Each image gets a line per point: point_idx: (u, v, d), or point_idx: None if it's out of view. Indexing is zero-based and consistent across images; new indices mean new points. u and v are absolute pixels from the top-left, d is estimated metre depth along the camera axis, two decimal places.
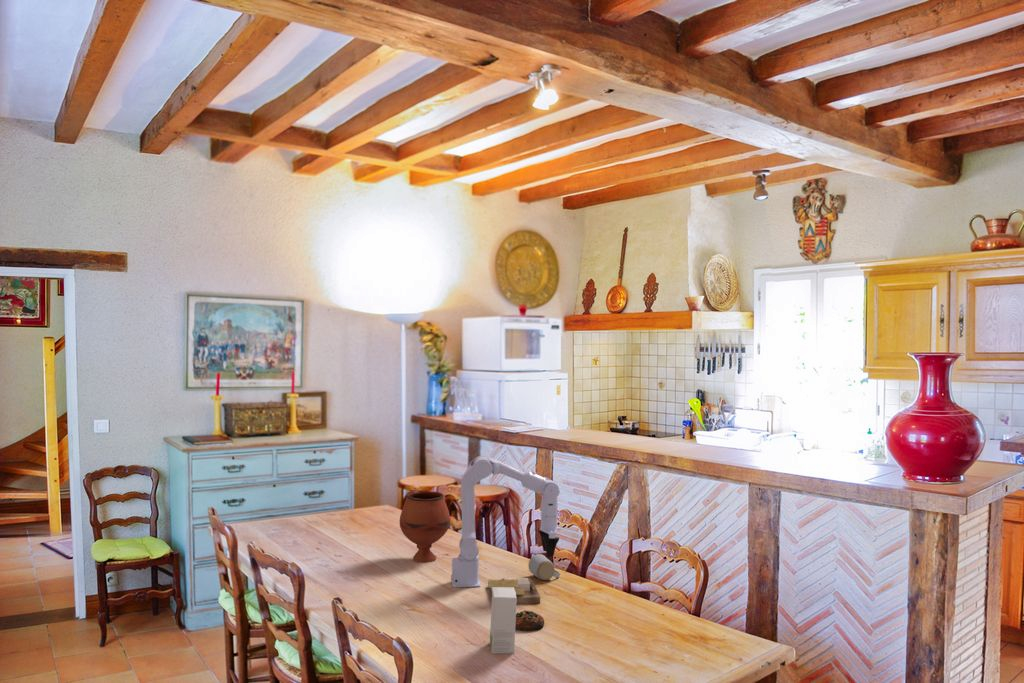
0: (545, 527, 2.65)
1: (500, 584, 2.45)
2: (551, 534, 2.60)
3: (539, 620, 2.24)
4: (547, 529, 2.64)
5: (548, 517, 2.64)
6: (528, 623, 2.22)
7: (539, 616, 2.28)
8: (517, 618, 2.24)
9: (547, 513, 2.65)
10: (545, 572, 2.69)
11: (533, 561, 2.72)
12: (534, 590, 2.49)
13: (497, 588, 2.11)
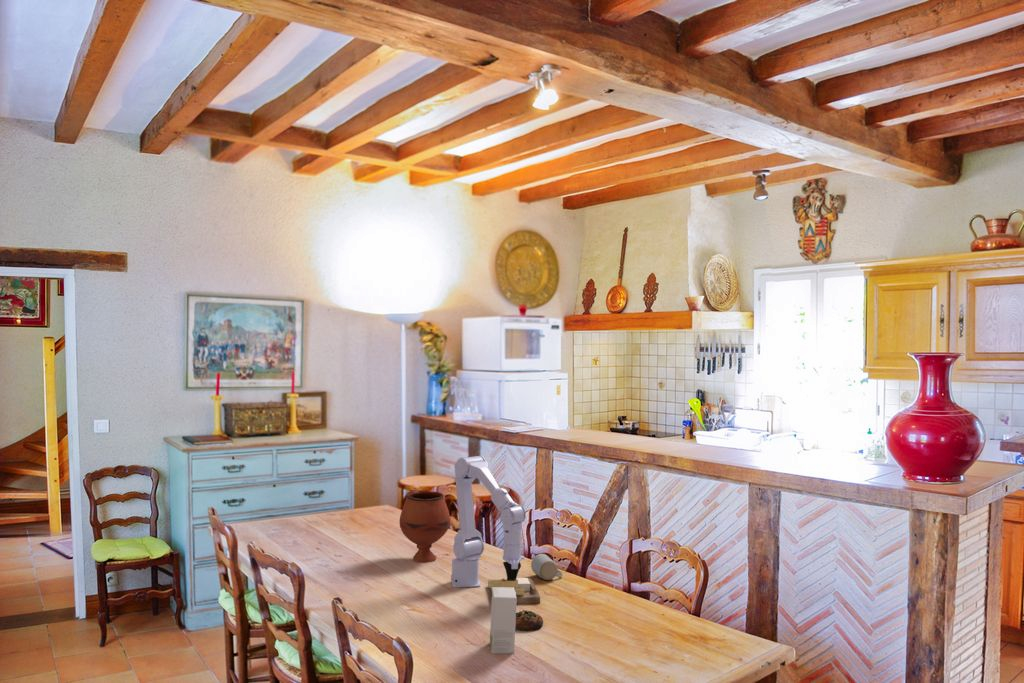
0: (508, 556, 2.46)
1: (500, 584, 2.45)
2: (514, 564, 2.41)
3: (538, 620, 2.24)
4: (510, 559, 2.46)
5: (511, 546, 2.46)
6: (527, 623, 2.22)
7: (538, 616, 2.28)
8: (516, 618, 2.25)
9: (504, 540, 2.47)
10: (548, 572, 2.69)
11: (536, 561, 2.73)
12: (534, 590, 2.49)
13: (497, 588, 2.11)
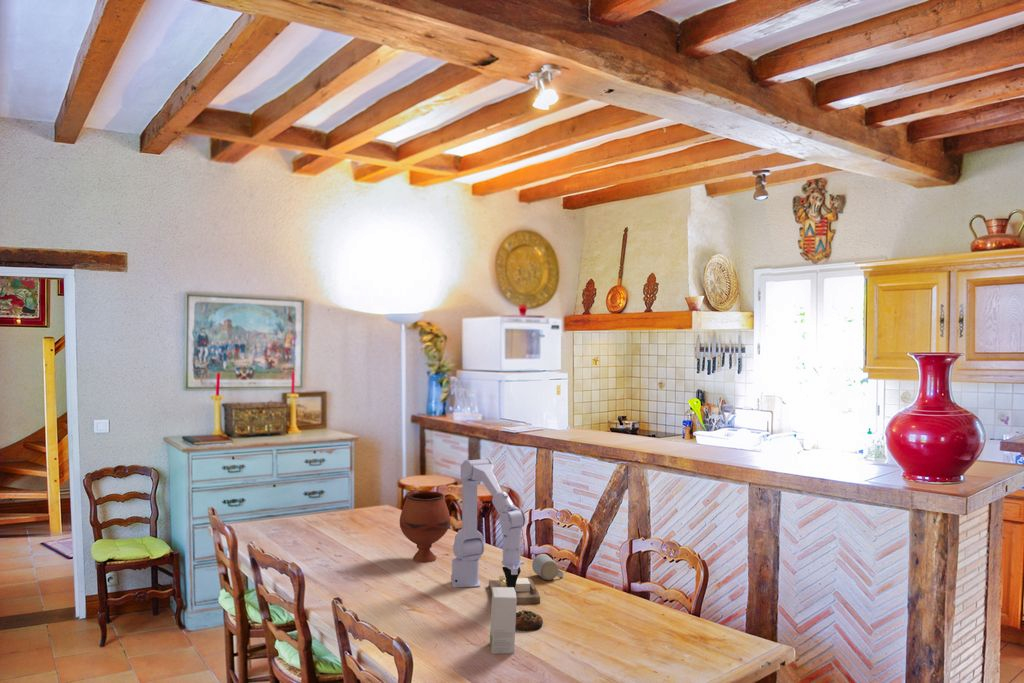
0: (507, 561, 2.40)
1: (500, 582, 2.47)
2: (513, 570, 2.36)
3: (538, 620, 2.25)
4: (509, 564, 2.40)
5: (510, 551, 2.40)
6: (527, 623, 2.22)
7: (537, 616, 2.28)
8: None
9: (503, 544, 2.42)
10: (549, 572, 2.69)
11: (537, 561, 2.73)
12: (534, 590, 2.49)
13: (497, 588, 2.11)
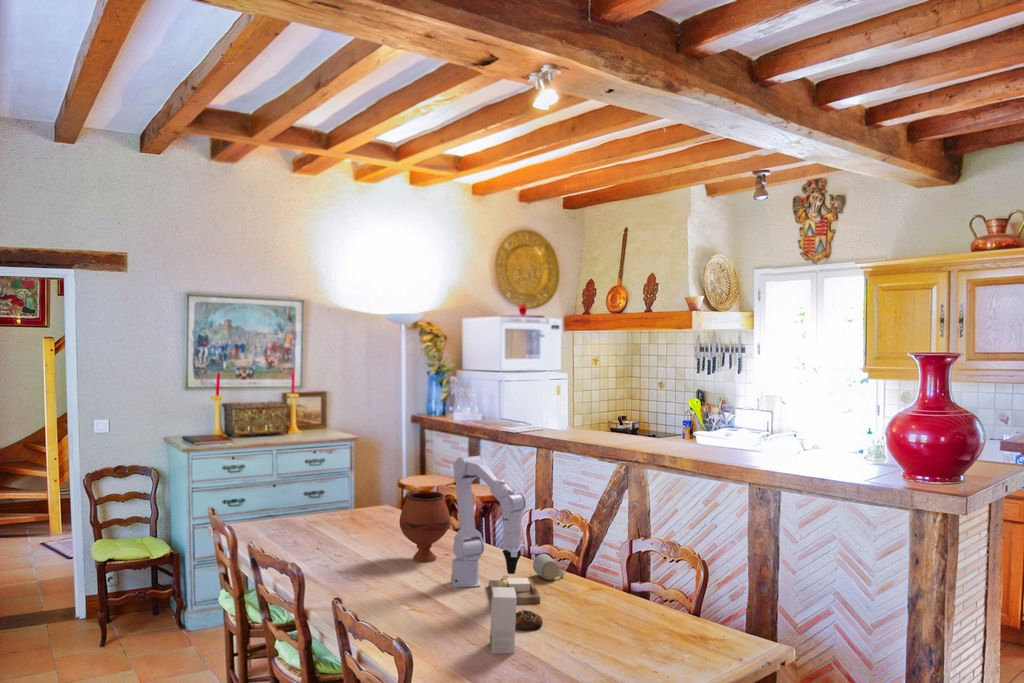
0: (507, 545, 2.44)
1: None
2: (513, 553, 2.39)
3: (537, 620, 2.25)
4: (509, 547, 2.43)
5: (511, 534, 2.43)
6: (527, 622, 2.22)
7: (537, 616, 2.28)
8: None
9: (504, 528, 2.45)
10: (550, 572, 2.69)
11: (537, 561, 2.73)
12: (534, 590, 2.49)
13: (497, 588, 2.11)
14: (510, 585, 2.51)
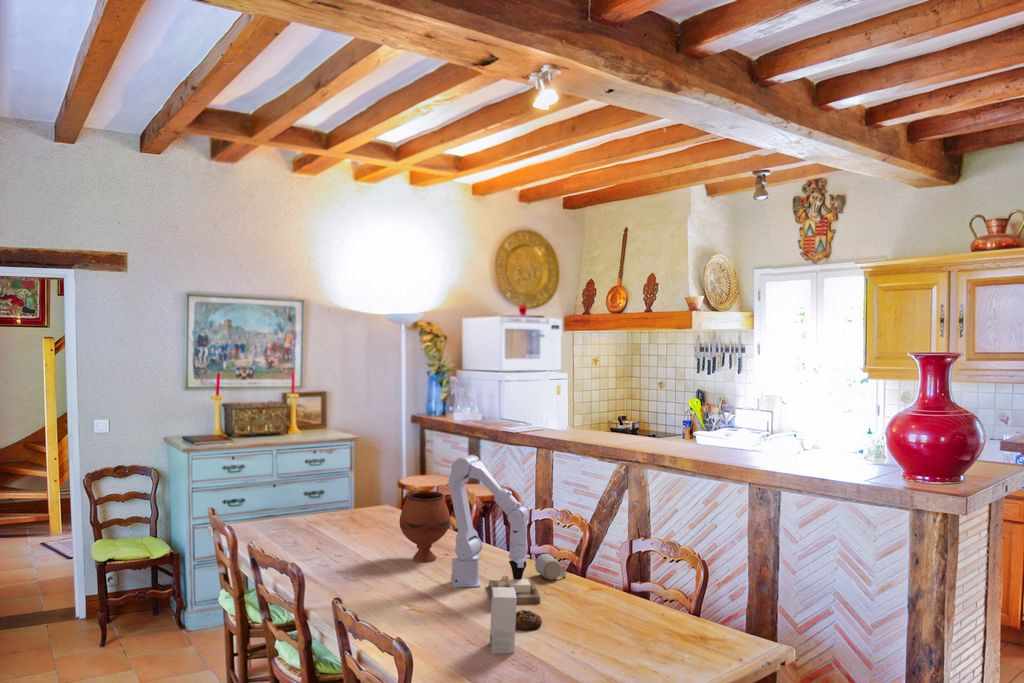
0: (514, 555, 2.54)
1: None
2: (519, 563, 2.50)
3: (536, 620, 2.25)
4: (516, 557, 2.54)
5: (517, 545, 2.54)
6: (526, 622, 2.22)
7: (536, 615, 2.28)
8: None
9: (512, 540, 2.55)
10: (552, 571, 2.70)
11: (540, 561, 2.73)
12: (534, 590, 2.49)
13: (497, 588, 2.11)
14: (510, 586, 2.49)
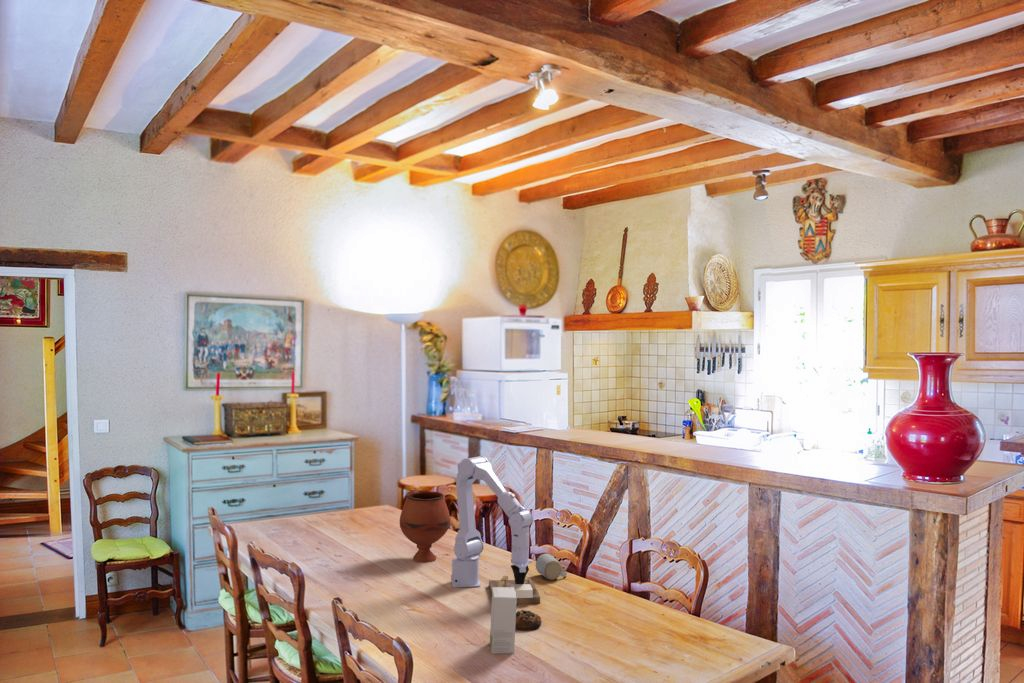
0: (516, 560, 2.49)
1: None
2: (522, 568, 2.44)
3: (536, 620, 2.25)
4: (518, 562, 2.49)
5: (519, 549, 2.49)
6: (525, 622, 2.22)
7: (536, 616, 2.28)
8: None
9: (513, 544, 2.50)
10: (553, 571, 2.70)
11: (540, 560, 2.73)
12: (534, 590, 2.49)
13: (497, 588, 2.11)
14: None
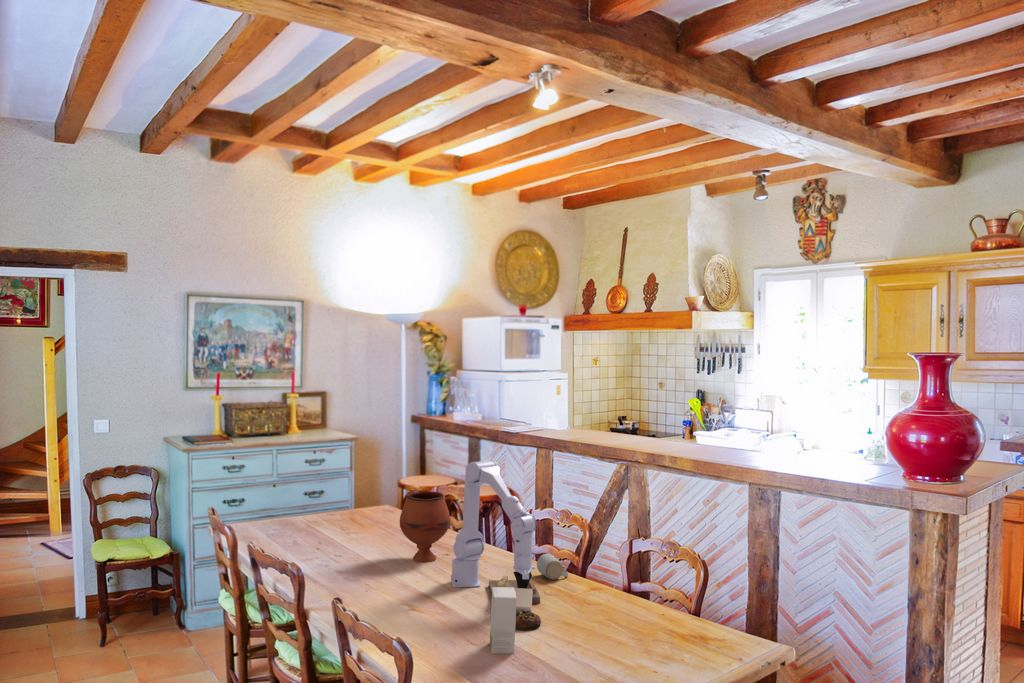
0: (518, 566, 2.42)
1: None
2: (525, 575, 2.37)
3: (536, 620, 2.25)
4: (521, 568, 2.42)
5: (522, 555, 2.42)
6: (525, 622, 2.22)
7: (536, 615, 2.28)
8: None
9: (515, 549, 2.44)
10: (554, 571, 2.70)
11: (541, 560, 2.73)
12: (534, 590, 2.49)
13: (497, 588, 2.11)
14: None
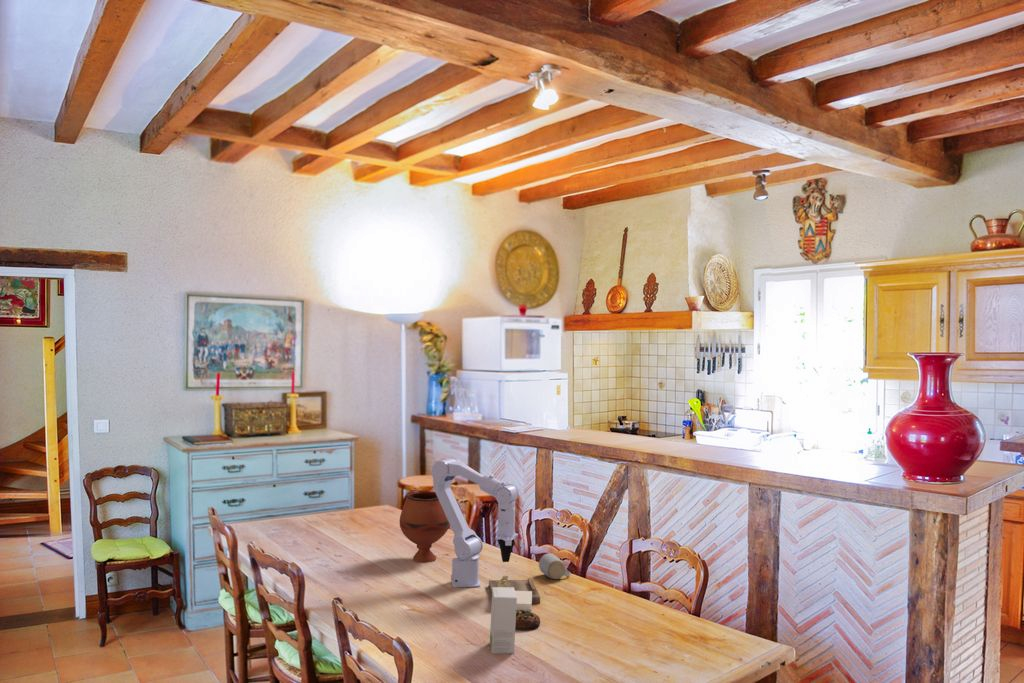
0: (502, 534, 2.55)
1: None
2: (507, 541, 2.50)
3: (535, 619, 2.25)
4: (504, 536, 2.55)
5: (505, 523, 2.55)
6: (524, 622, 2.23)
7: (535, 615, 2.28)
8: None
9: (500, 518, 2.56)
10: (556, 571, 2.70)
11: (544, 560, 2.73)
12: (534, 590, 2.49)
13: (497, 588, 2.11)
14: None
